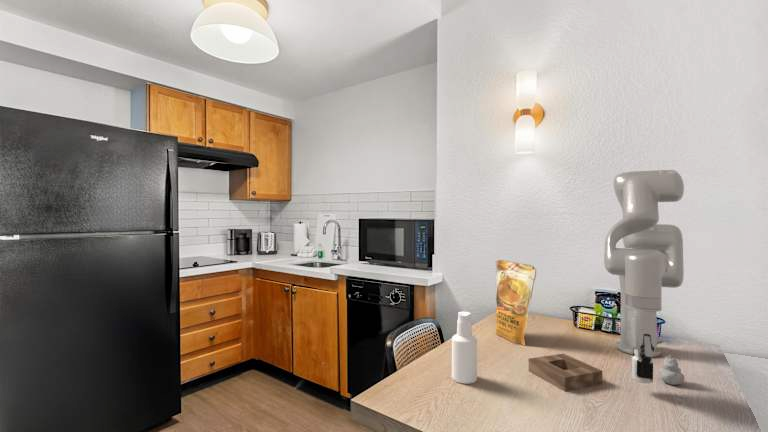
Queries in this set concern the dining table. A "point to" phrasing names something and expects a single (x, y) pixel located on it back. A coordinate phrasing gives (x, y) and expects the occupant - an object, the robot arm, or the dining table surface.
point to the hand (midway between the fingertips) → (642, 372)
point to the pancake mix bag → (513, 299)
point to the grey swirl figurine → (671, 372)
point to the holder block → (565, 371)
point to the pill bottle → (634, 369)
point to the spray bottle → (464, 351)
